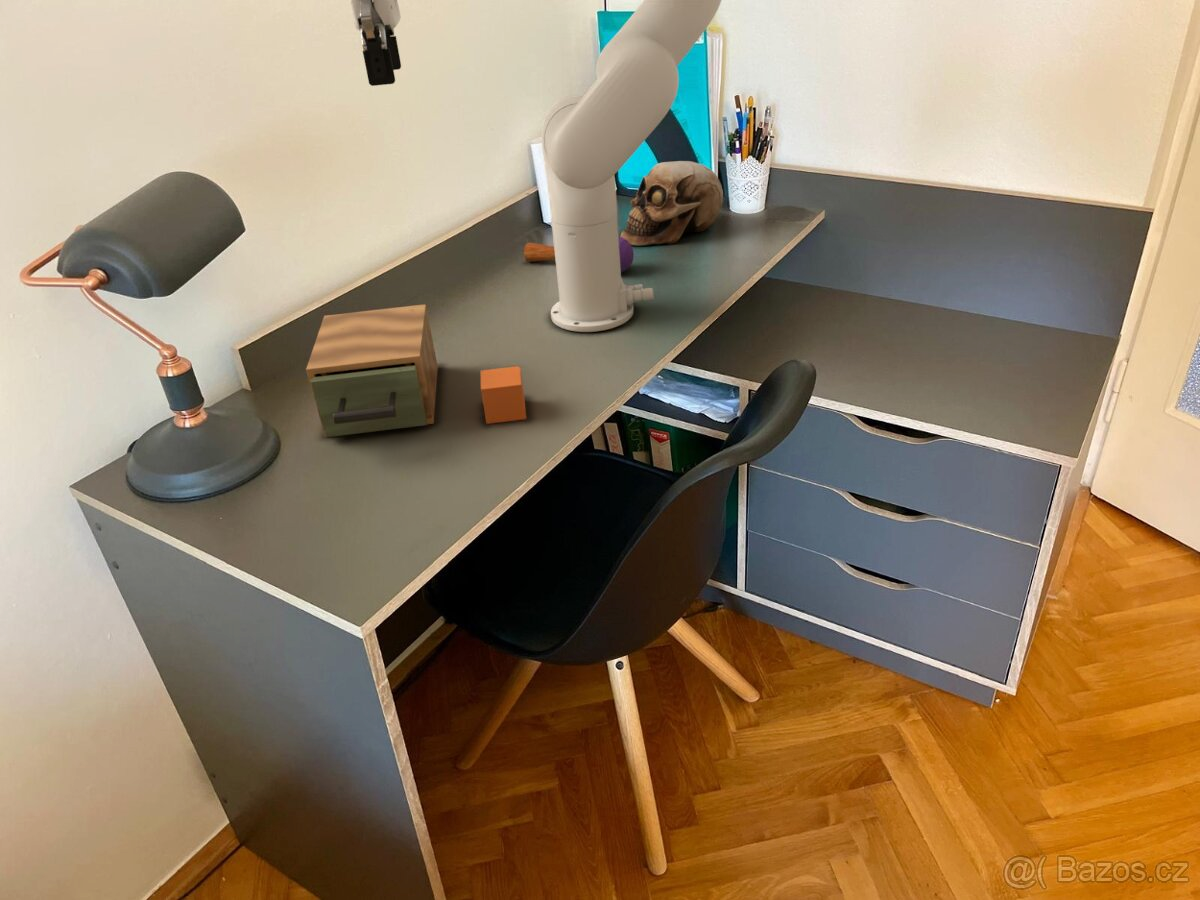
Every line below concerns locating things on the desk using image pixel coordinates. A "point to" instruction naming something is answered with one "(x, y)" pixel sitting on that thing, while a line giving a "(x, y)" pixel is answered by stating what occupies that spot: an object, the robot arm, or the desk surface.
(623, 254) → the kendama
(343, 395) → the drawer
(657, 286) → the desk surface
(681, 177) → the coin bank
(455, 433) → the desk surface
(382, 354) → the cabinet
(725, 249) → the desk surface
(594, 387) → the desk surface
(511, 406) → the block
